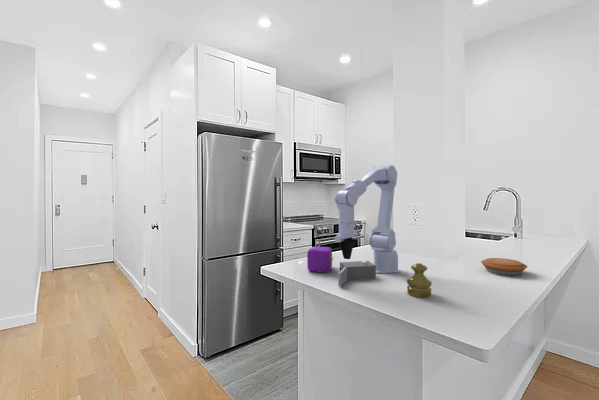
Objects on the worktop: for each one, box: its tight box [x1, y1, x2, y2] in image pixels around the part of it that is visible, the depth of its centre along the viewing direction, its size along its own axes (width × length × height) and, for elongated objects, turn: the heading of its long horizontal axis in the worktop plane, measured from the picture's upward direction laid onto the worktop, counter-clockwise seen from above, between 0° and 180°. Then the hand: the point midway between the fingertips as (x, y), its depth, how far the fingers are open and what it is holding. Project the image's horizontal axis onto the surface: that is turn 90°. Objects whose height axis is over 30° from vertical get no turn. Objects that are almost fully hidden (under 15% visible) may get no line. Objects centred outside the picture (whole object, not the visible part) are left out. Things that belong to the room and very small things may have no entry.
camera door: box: [337, 267, 348, 287], centre depth 109 cm, size 9×1×5 cm, turn 158°
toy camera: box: [306, 246, 334, 273], centre depth 130 cm, size 11×14×10 cm
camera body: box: [338, 260, 377, 281], centre depth 118 cm, size 13×8×6 cm, turn 98°
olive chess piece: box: [406, 262, 433, 299], centre depth 97 cm, size 7×7×10 cm
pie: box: [480, 257, 528, 277], centre depth 122 cm, size 15×16×5 cm
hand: (347, 258), depth 112 cm, fingers closed
